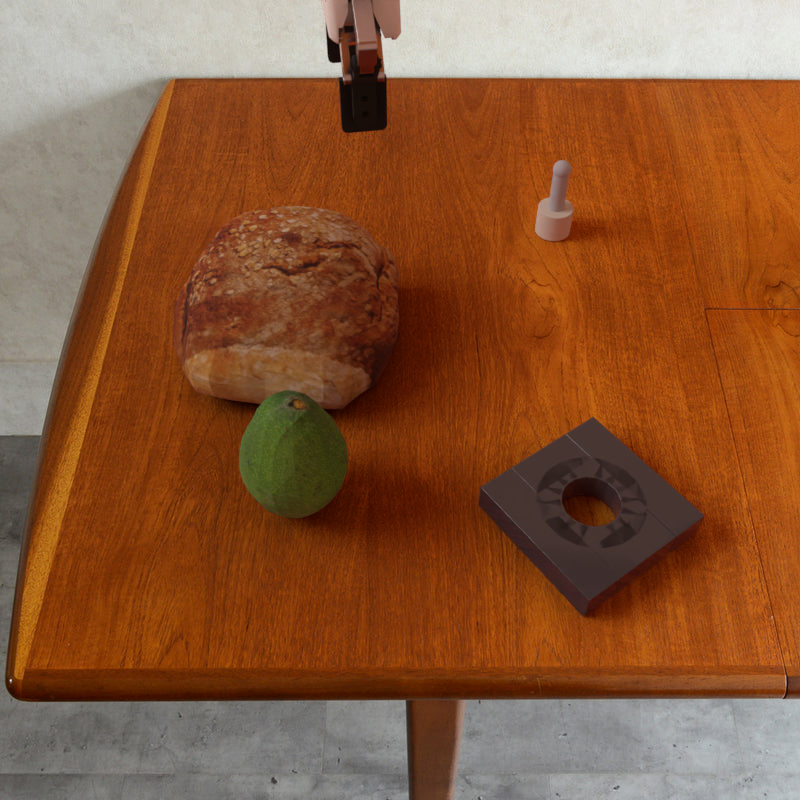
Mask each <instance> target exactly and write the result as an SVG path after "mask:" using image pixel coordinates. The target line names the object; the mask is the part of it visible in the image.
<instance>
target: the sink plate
mask: <svg viewBox="0 0 800 800" xmlns="http://www.w3.org/2000/svg"><path fill="white" fill-rule="evenodd" d="M478 495H479V496H478V506H479V508H480V509H482V511H483V512H484V513H485V514H486V515H487V516H488V517H489V518H490V519H491V520H492V521H493V522H494V524H496V526H498V528H500V530H501V531H502V532H503V533H504V534H505V535H506V536H507V537H508V539H510V540H511V541H512V543H513V544H515V546H516V547H517V548H518V549H519V550H520V551H521V553H523V554H524V555H525V557H526V558H527V559H528V560H529V561H530V562H532V564H533V565H534V566H535V567H536V568H537V569H538V570H539V571H540V572H541V573H542V574H543V575H544V576H545V577H546V578H547V580H548V581H549V582H550V583H551V584H552V585H553V586H554V587H555V588H556V589H557V590H558V592H560V593H561V595H562V596H563V597H564V598H565V599H566V600H567V601H568V603H570V604H571V605H572V606H573V607H574V608H575V609H576V610H577V612H578V613H579V614H580V615H581V616H582V617H583V618H584V617H586V616H588V615H590V613H591V612H593V611H594V610H595V609H597V608H598V607H600V606H601V605H602V604H604V603H605V602H607V601H608V600H609V599H610V598H612V597H614V596H615V594H617V593H619V592H620V591H622V590H623V589H624V588H626V586H628V585H629V584H630V583H632V582H633V581H635V580H636V579H637V578H639V577H640V576H642V574H644V573H646V572H647V571H648V570H650V569H651V568H652V567H653V566H655V565H656V564H658V563H659V562H660V561H662V560H663V559H664V558H666V557H667V556H668V555H669V554H671V553H672V552H674V551H675V550H676V549H678V548H679V547H681V546H682V545H684V544H685V543H686V542H688V541H689V540H690V539H691V538H693V537H694V536H696V535H697V534H698V531H699V530H700V528H701V525H702V524H703V521H704V519H705V514H704V513H703V512H702V511H701V510H699V509H698V507H696V506H695V505H694V504H692V503H691V502H690V501H689V500H688V499H687V498H686V497H685V496H684V495H682V493H680V492H679V491H678V490H676V488H674V486H672V485H671V484H670V483H669V482H668V481H667V480H666V479H665V478H663V477H662V476H661V475H660V474H659V473H658V472H656V471H655V470H654V469H653V468H652V467H651V466H650V465H649V464H647V463H646V462H645V461H644V460H643V459H642V458H641V457H640V456H638V455H637V454H636V453H635V452H634V451H632V450H631V449H630V447H628V445H626V444H625V443H623V441H621V439H619V438H618V437H617V436H616V435H614V433H612V432H611V431H610V430H609V429H608V428H607V427H606V426H605V425H603V424H602V423H601V422H600V421H599V420H598V419H597V418H595V417H594V416H592V417H590V418H589V419H587V420H585V421H584V422H582V423H581V424H579V425H577V426H576V427H574V428H573V429H571V430H570V431H567V432H566V433H564V434H562V435H561V436H560V437H558V438H556V439H555V440H553V441H552V442H550V443H549V444H547V445H545V446H544V447H542V448H540V449H538V450H537V451H536V452H534V453H532V454H530V455H529V456H528V457H526V458H524V459H523V460H521V461H519V462H518V463H517V464H514V465H513V466H512V467H510V468H508V469H507V470H506V471H504V472H502V473H500V474H499V475H497V476H496V477H494V478H493V479H491V480H489V481H487V482H486V483H484V484H483V485H481V486H480V488H479V494H478ZM577 496H578V497H579V496H585V497H592V498H595V499H597V500H599V501H601V502H603V503H604V504H605V505H606V506H607V508H609V509H610V510H611V512H612V515H613V517H614V519H613V520H612V521H611V522H609V523H607V524H601V525H597V526H596V525H590V524H584V523H582V522H580V521H578V520H576V519H574V518H573V517H572V516H571V515H570V514H569V513H568V512H567V511H566V509H565V506H564V504H563V503H564V502H566V501H567V500H569V499H570V498H573V497H577Z"/></svg>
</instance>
